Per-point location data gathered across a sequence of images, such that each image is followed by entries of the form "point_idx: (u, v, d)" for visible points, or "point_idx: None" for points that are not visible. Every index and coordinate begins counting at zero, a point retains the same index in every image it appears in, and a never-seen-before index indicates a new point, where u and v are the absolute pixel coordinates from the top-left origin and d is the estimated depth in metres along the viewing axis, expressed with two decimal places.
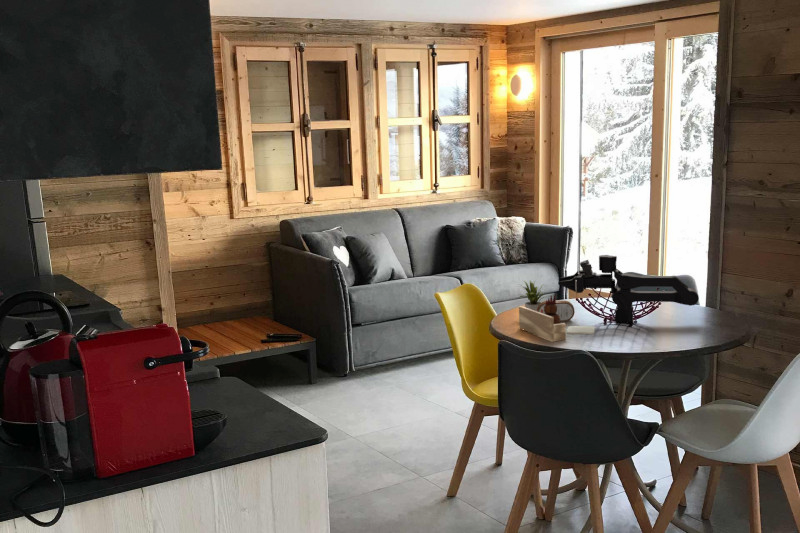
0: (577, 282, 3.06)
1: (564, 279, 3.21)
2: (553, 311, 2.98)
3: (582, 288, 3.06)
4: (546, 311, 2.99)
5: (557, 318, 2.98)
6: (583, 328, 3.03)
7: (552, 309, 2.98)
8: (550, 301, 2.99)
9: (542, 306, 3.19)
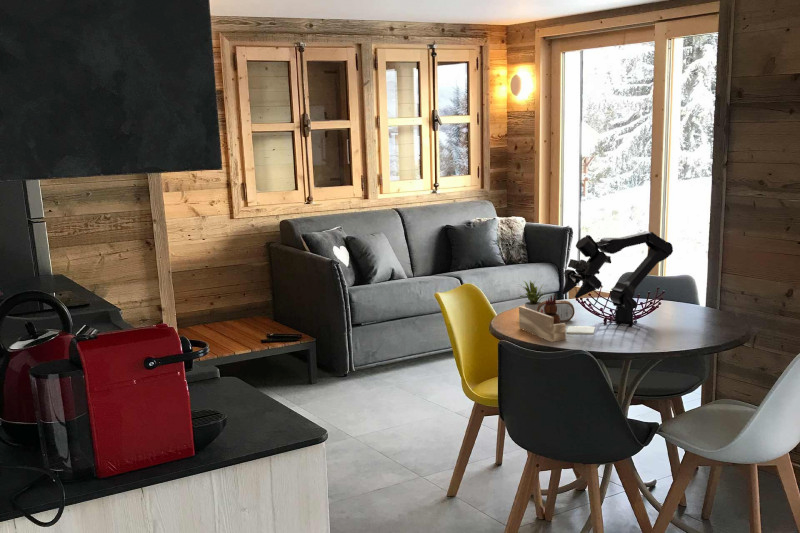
0: (593, 281, 2.94)
1: (565, 290, 3.07)
2: (553, 311, 2.98)
3: (599, 281, 2.96)
4: (546, 311, 2.99)
5: (557, 318, 2.98)
6: (583, 328, 3.03)
7: (552, 309, 2.98)
8: (550, 301, 2.99)
9: (542, 306, 3.19)
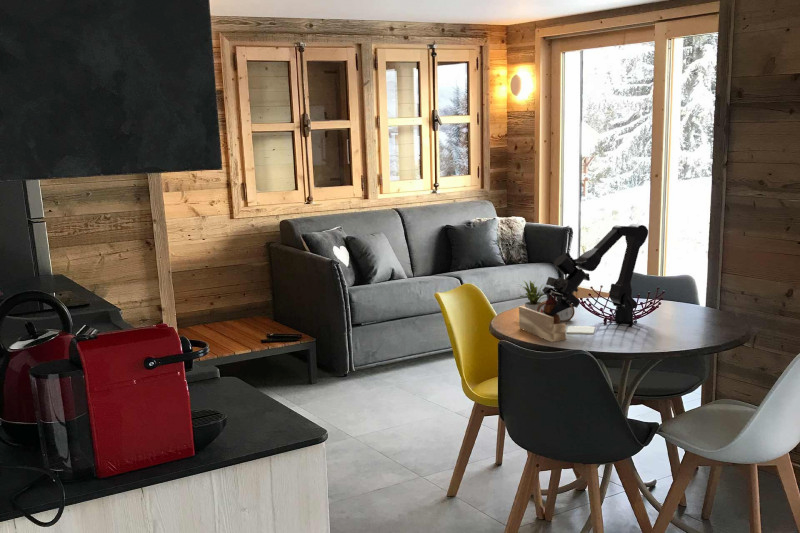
0: (571, 300, 2.92)
1: None
2: None
3: (577, 300, 2.93)
4: (546, 311, 2.99)
5: (557, 318, 2.98)
6: (583, 328, 3.03)
7: None
8: (550, 301, 2.99)
9: (542, 306, 3.19)
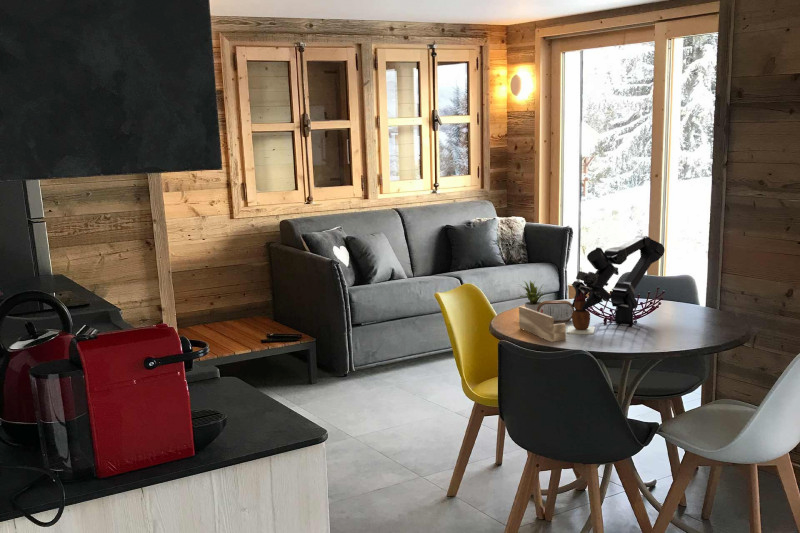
0: (602, 294, 2.92)
1: None
2: None
3: (608, 294, 2.93)
4: (576, 307, 2.99)
5: (587, 314, 2.99)
6: None
7: (582, 306, 2.98)
8: (580, 297, 3.00)
9: (542, 306, 3.19)
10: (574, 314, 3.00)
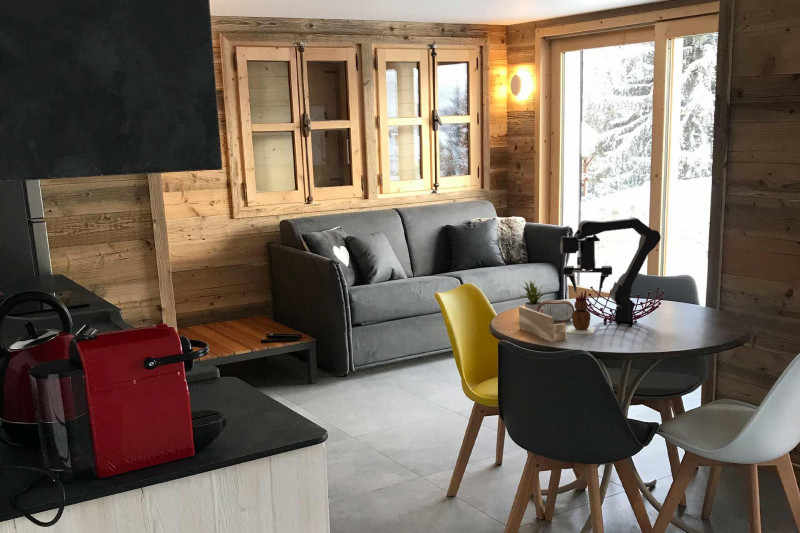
0: None
1: (599, 287, 3.09)
2: (584, 308, 2.99)
3: (563, 268, 3.11)
4: (577, 307, 2.99)
5: (588, 314, 2.99)
6: None
7: (583, 306, 2.98)
8: (581, 298, 3.00)
9: (542, 306, 3.19)
10: (574, 314, 3.00)
